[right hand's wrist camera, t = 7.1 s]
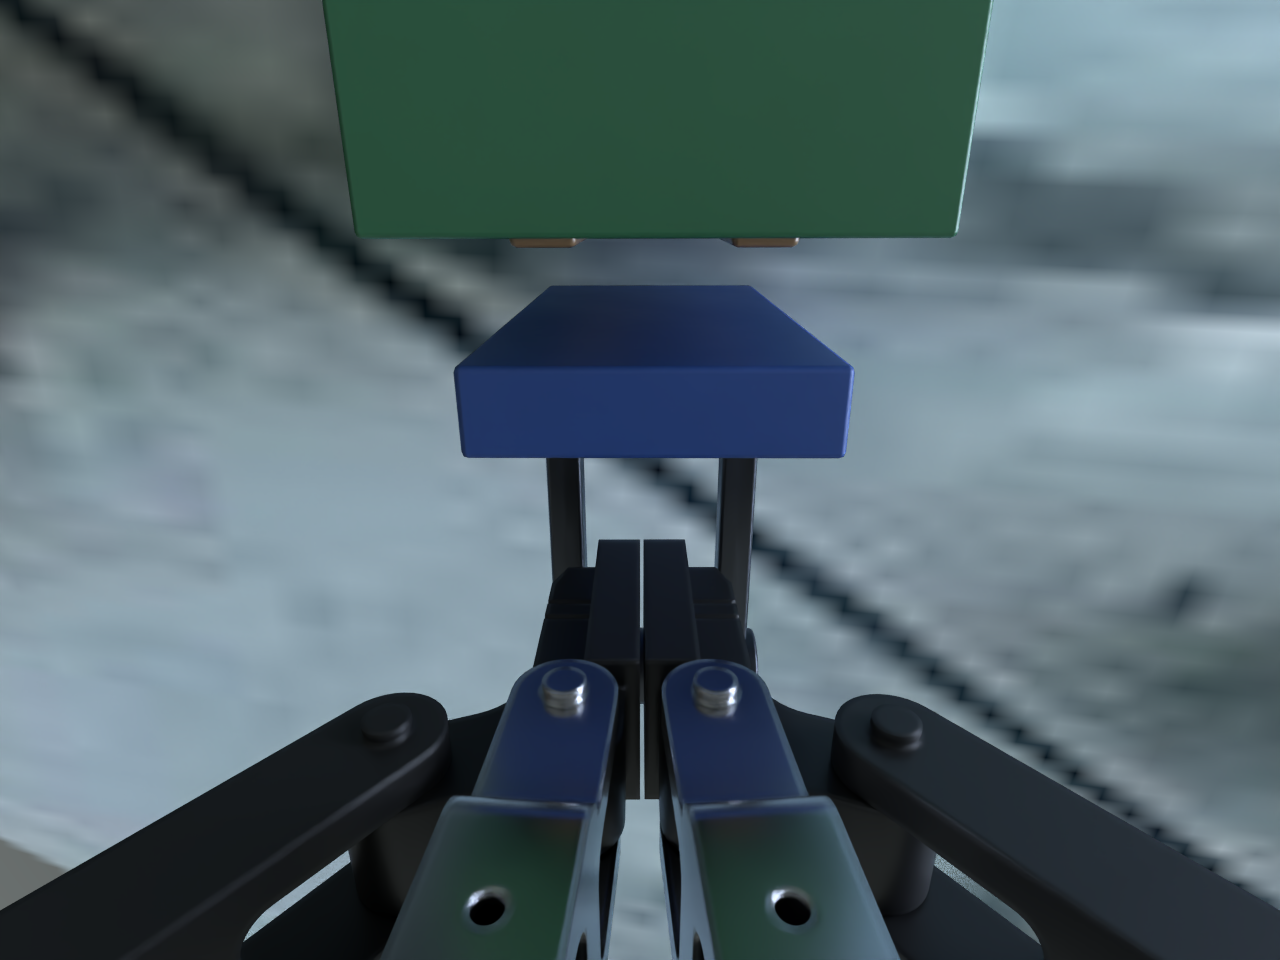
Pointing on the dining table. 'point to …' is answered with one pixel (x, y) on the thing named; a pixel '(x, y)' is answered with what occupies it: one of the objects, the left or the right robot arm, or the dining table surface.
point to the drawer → (654, 397)
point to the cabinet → (656, 117)
